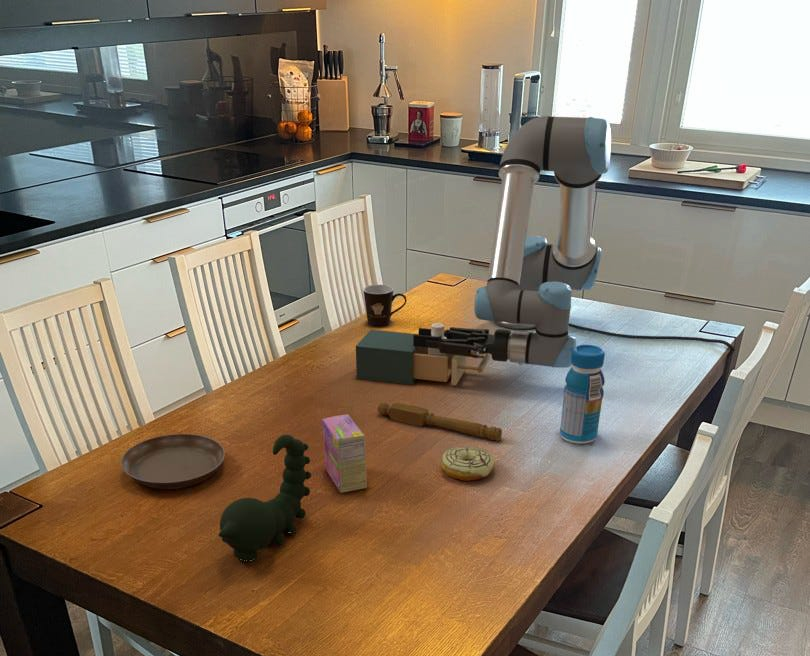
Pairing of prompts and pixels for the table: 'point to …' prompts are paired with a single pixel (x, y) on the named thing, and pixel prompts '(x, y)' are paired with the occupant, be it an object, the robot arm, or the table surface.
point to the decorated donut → (467, 463)
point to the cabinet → (386, 357)
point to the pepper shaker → (437, 331)
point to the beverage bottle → (583, 395)
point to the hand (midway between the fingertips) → (416, 336)
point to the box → (345, 453)
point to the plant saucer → (173, 460)
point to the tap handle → (436, 420)
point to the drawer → (442, 366)
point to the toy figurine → (268, 507)
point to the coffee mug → (380, 304)
